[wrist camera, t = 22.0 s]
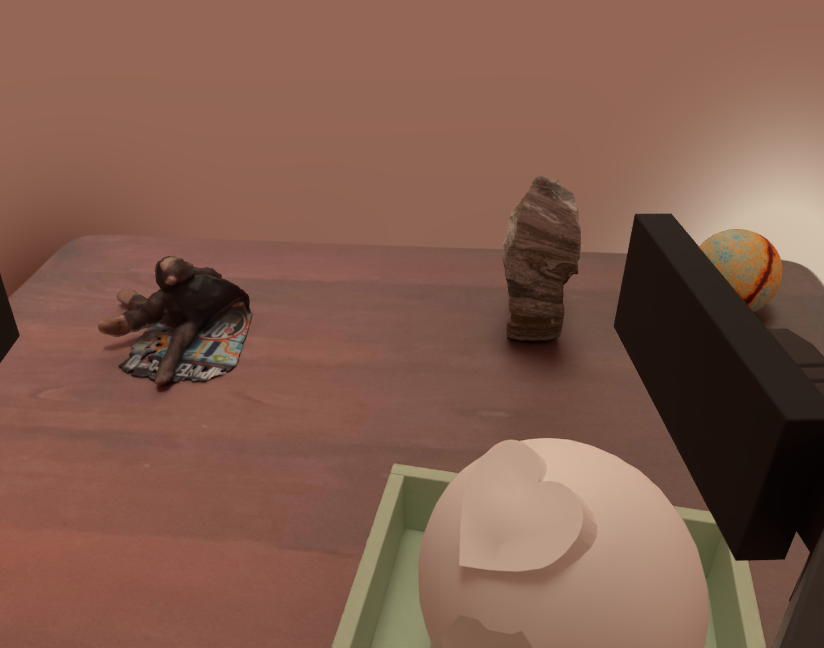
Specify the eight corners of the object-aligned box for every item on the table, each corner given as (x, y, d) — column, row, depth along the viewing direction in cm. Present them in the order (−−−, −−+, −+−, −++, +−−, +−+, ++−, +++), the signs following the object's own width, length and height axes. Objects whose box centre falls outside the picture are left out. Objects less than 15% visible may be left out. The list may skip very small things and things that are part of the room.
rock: (524, 288, 66) (540, 119, 58) (591, 301, 64) (617, 128, 56) (481, 367, 56) (494, 175, 48) (559, 385, 54) (586, 189, 46)
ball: (689, 328, 61) (708, 250, 57) (675, 286, 66) (691, 213, 63) (780, 334, 60) (805, 256, 56) (757, 291, 66) (779, 218, 62)
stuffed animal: (211, 259, 67) (250, 228, 57) (246, 362, 68) (291, 351, 57) (75, 294, 62) (90, 267, 51) (113, 407, 62) (136, 403, 52)
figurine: (479, 554, 40) (498, 314, 32) (697, 648, 35) (783, 395, 27) (367, 735, 32) (355, 473, 24) (632, 890, 27) (728, 627, 19)
